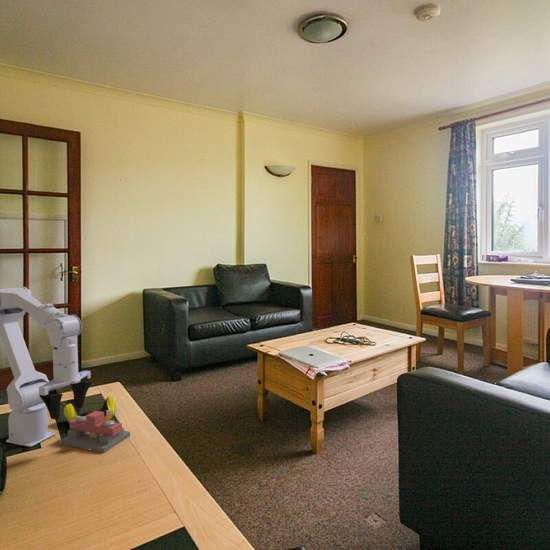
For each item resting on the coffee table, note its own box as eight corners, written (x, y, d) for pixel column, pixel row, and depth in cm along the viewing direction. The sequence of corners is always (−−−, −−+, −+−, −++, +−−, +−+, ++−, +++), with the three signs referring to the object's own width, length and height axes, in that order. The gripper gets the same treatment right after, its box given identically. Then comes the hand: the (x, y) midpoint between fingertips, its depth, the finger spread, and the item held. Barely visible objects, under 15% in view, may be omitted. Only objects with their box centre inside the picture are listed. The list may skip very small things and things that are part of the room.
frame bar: (69, 428, 108) (69, 412, 108) (79, 423, 111) (79, 408, 111) (112, 436, 103) (112, 419, 103) (121, 430, 106) (121, 414, 106)
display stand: (60, 444, 105) (60, 433, 105) (88, 428, 114) (88, 418, 114) (104, 452, 100) (104, 441, 100) (130, 435, 110) (129, 425, 110)
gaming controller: (63, 420, 121) (66, 432, 112) (62, 403, 120) (65, 414, 112) (114, 410, 129) (120, 420, 121) (113, 393, 129) (120, 403, 120)
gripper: (53, 371, 92) (55, 426, 93) (98, 356, 106) (100, 404, 107) (31, 368, 95) (33, 422, 95) (78, 354, 108) (80, 401, 109)
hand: (67, 412), depth 101 cm, fingers open, 7 cm apart
